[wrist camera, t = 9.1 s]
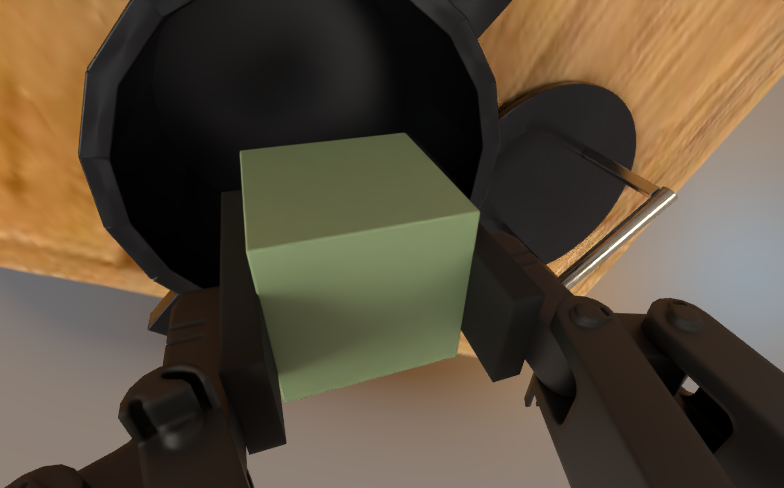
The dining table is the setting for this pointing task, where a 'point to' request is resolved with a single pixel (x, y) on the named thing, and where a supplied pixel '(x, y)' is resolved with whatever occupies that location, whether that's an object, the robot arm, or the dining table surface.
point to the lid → (567, 175)
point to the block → (355, 258)
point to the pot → (269, 108)
